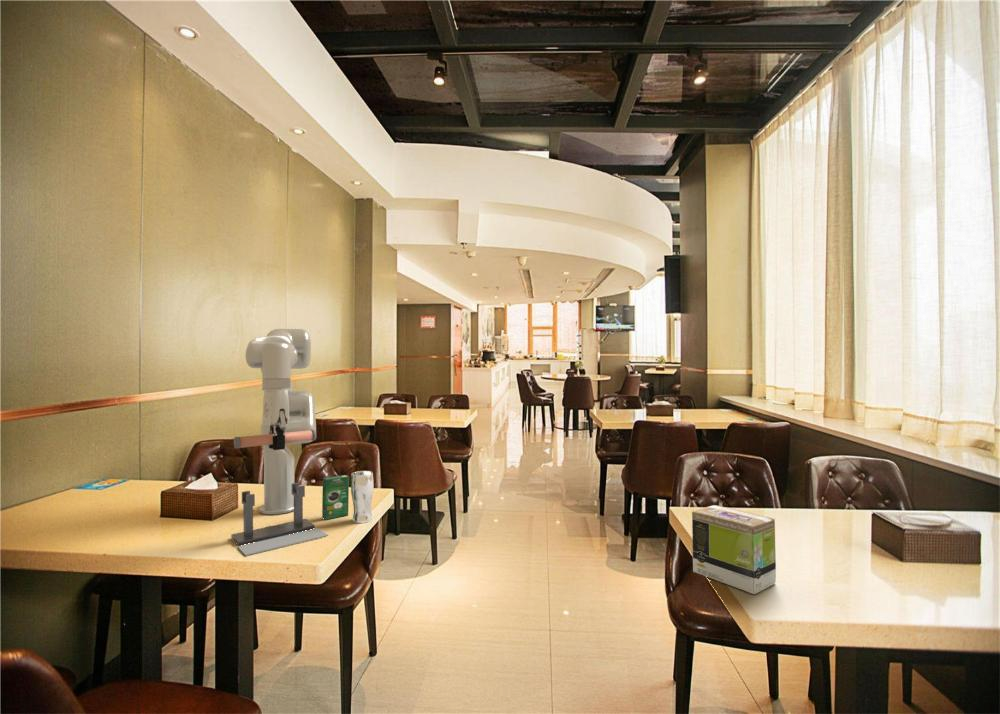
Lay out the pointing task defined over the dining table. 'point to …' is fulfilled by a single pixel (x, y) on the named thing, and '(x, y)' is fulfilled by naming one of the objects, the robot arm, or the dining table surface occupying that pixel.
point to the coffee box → (335, 497)
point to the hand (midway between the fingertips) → (276, 448)
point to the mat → (281, 542)
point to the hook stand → (276, 530)
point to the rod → (268, 439)
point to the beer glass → (362, 495)
